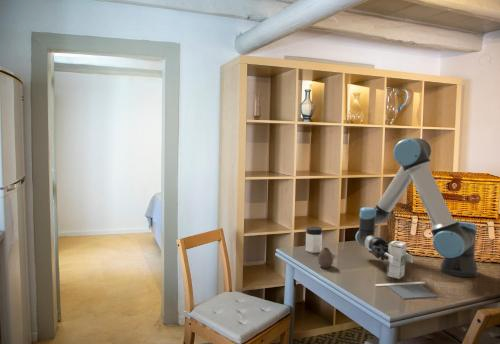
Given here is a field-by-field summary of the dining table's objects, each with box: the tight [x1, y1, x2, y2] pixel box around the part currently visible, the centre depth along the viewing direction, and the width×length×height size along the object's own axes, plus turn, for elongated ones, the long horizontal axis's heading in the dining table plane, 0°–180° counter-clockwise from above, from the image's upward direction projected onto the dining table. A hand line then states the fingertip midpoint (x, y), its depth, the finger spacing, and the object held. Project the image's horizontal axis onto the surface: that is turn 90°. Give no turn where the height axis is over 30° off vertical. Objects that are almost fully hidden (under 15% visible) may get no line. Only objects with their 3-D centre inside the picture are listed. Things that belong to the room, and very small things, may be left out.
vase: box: [317, 247, 334, 269], centre depth 188 cm, size 7×7×9 cm
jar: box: [305, 225, 323, 254], centre depth 213 cm, size 9×8×12 cm
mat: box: [386, 284, 438, 300], centre depth 160 cm, size 14×12×1 cm
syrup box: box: [386, 240, 407, 280], centre depth 173 cm, size 6×6×14 cm
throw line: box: [374, 281, 426, 287], centre depth 168 cm, size 22×2×1 cm, turn 101°
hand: (402, 259), depth 168 cm, fingers closed on syrup box, 8 cm apart
